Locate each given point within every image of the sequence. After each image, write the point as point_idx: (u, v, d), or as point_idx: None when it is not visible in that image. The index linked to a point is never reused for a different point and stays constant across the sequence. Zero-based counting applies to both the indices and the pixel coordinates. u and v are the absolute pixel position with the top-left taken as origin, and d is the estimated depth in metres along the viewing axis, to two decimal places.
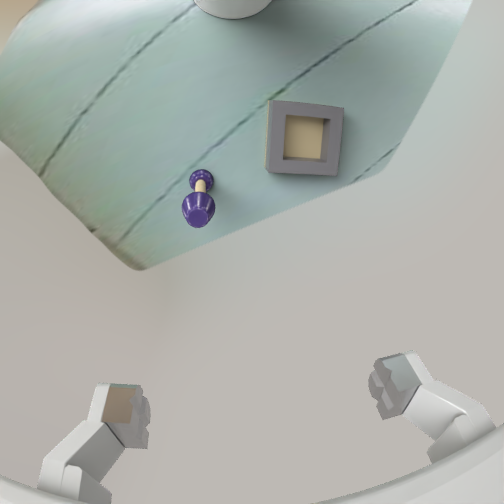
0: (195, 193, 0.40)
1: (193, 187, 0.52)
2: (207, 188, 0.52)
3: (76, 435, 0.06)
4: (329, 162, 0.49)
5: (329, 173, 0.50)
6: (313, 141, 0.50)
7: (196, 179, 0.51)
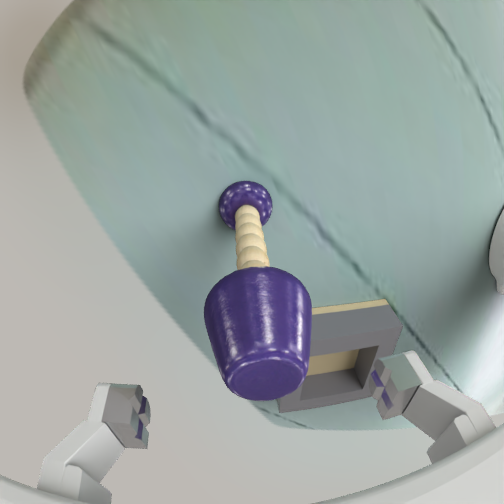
0: (311, 310, 0.13)
1: (235, 195, 0.22)
2: (233, 226, 0.24)
3: (76, 435, 0.06)
4: (300, 403, 0.31)
5: (282, 406, 0.31)
6: (320, 366, 0.33)
7: (256, 203, 0.22)
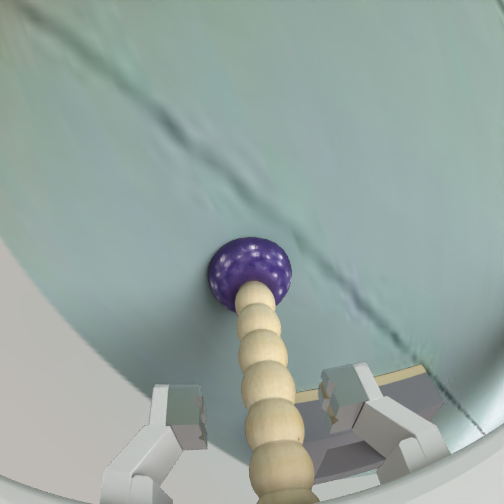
0: None
1: (233, 265, 0.14)
2: (232, 309, 0.15)
3: (139, 442, 0.07)
4: None
5: None
6: None
7: (268, 278, 0.14)
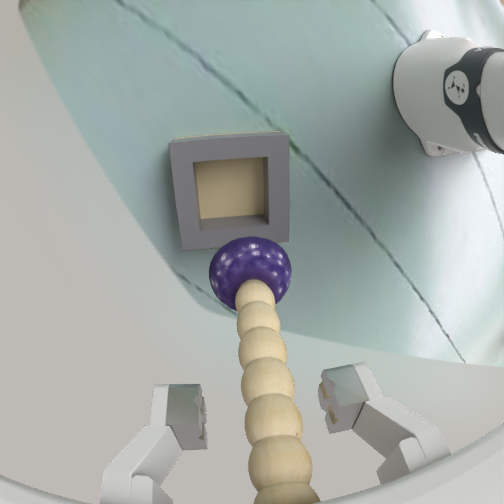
0: None
1: (234, 264, 0.14)
2: (232, 307, 0.15)
3: (139, 442, 0.07)
4: (201, 235, 0.33)
5: (183, 239, 0.33)
6: (225, 204, 0.36)
7: (268, 276, 0.14)
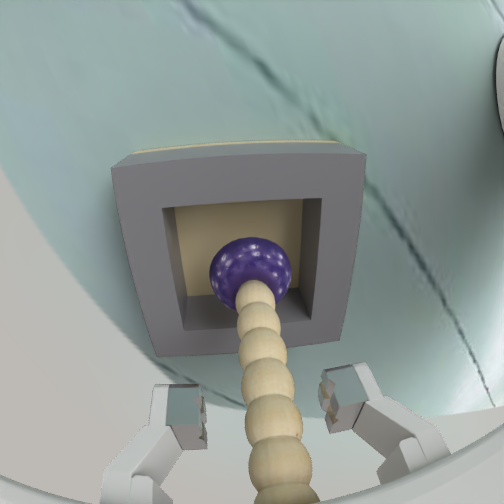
0: None
1: (234, 265, 0.14)
2: (233, 308, 0.15)
3: (139, 442, 0.07)
4: (186, 337, 0.18)
5: (156, 341, 0.18)
6: None
7: (269, 277, 0.14)
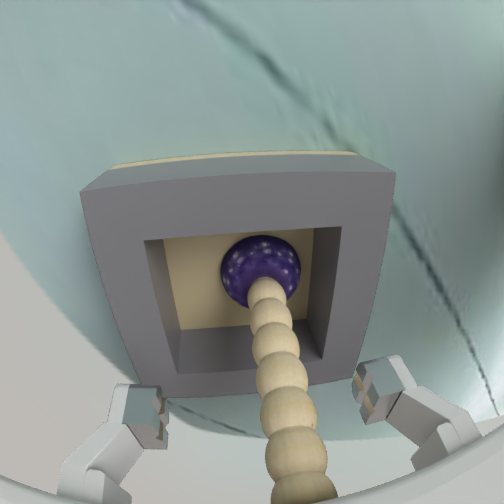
0: None
1: (246, 262, 0.14)
2: (243, 304, 0.15)
3: (96, 438, 0.06)
4: (180, 380, 0.15)
5: (146, 383, 0.15)
6: (229, 306, 0.17)
7: (280, 274, 0.14)
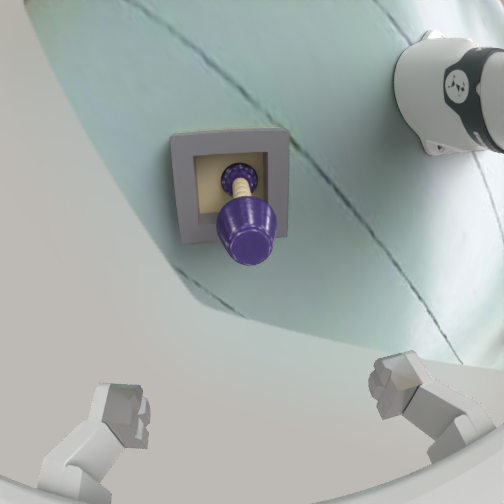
0: (276, 221, 0.23)
1: (232, 172, 0.33)
2: (231, 193, 0.34)
3: (76, 435, 0.06)
4: (199, 229, 0.33)
5: (182, 232, 0.33)
6: (225, 199, 0.36)
7: (246, 177, 0.33)
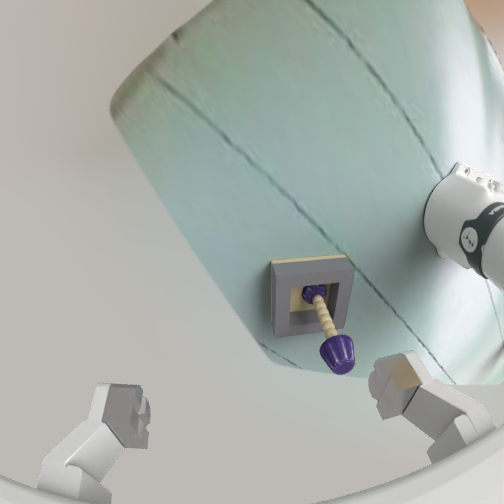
0: None
1: (312, 290, 0.48)
2: (309, 302, 0.49)
3: (76, 435, 0.06)
4: (289, 328, 0.48)
5: (277, 330, 0.48)
6: (302, 303, 0.50)
7: (321, 293, 0.48)
